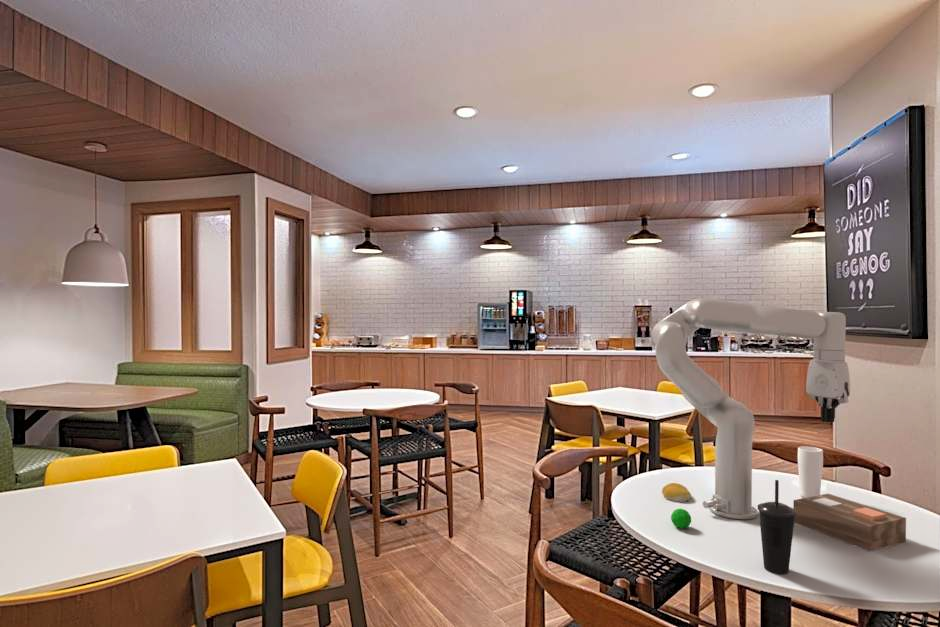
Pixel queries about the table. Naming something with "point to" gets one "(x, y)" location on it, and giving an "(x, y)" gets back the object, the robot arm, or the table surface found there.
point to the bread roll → (676, 492)
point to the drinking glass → (810, 470)
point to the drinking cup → (776, 534)
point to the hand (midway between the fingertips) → (827, 421)
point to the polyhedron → (681, 518)
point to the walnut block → (850, 523)
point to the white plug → (827, 502)
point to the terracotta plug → (869, 514)
